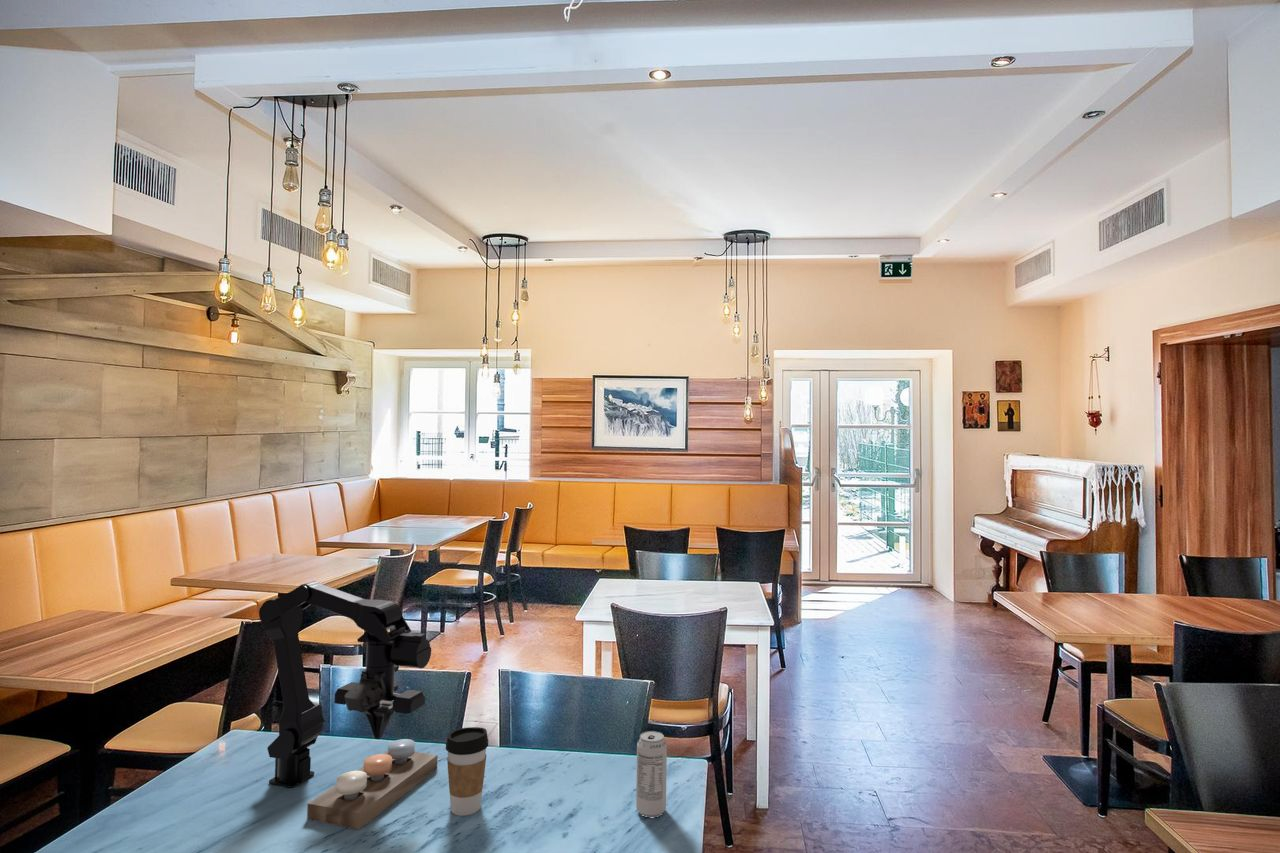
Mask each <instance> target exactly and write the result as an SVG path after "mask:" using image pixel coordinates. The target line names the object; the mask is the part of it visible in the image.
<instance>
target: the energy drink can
mask: <svg viewBox="0 0 1280 853" xmlns="http://www.w3.org/2000/svg"><path fill="white" fill-rule="evenodd" d="M667 750H668V744H667V742H666V740H665V735H664V734H663V733H662V732H660V731H654V730H647V731H644V732H642V733H640V735H639V739H638V741H637V744H636V788H635V789H636V791H635V792H636V793H635V796H636V797H635V798H636V800H635V807H636V810H637V811H638V814H639V813H640V814H641V815H644V816H647V817H657V816H660V815H661V814H662V813H663V814H664V813H665V811H666V810H667V771H668V770H667V768H668V766H667V760H668V759H667V757H668V756H667V755H668V753H667V752H668V751H667ZM640 814H639V815H640ZM663 814H662V815H663ZM641 815H640V816H641ZM660 817H661V816H660Z"/></svg>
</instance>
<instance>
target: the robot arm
mask: <svg viewBox="0 0 1280 853" xmlns="http://www.w3.org/2000/svg"><path fill="white" fill-rule="evenodd" d="M311 605H312V606H315V607H317V608H321V609H323V610H326V611H329V612H331V613H334V614H336V615H339V616H342V617H345V618H348V619H350V620H352V621H353V622H354V623H355V625H356V626H357V627H358V628H359V629H361V630H362V631H364V633H363V634H362V635H360V637H359V638H357V642H358V643H366V655H365V656H366V659H365V660H366V661H365V669H364V670H362V671H361V674H360V679H359V682H355V681H351V682H348V683H346V684H345V685H342V686H341V687H338V688H337V689H336V690H335V692H334V696H333V703H334V704H337V705H344V706H345V705H346V709H347V710H348V711H350V712H352V711H357V712H359V713H364V714H365V716H366V717H367V720H368V722H369V725H370V727H371V730H372V733H373V737H374V739H375V740H380V739H382V737H383V735H384V733H385V731H386V728H387V726H388V724H389V722H390V720H391V718H392V716H393V714H394V712H395V713H399V714H407V715H408V714H411V713H413V712H414V711H417V710H418V709H419V708H421V707H422V706H424V705H426V695H425V693H424V692H423V691H421V690H414V689H407V690H405V691H403V692H401V693H395V692H396V691H398V690H399V685H398V684H395V673H396V672H398V671H399V667H403V668H411V669H412V668H414V669H424V668H425V667H427V665H428V664H429V662H430V659H431V654H432V647H431V643H430V642H429V640H428V639H427V634H426V633H411V632H412V630H411V628H410V626H409V625H408V623H407V621H406V619H405V617H404V616H403V614H402V612H401V609H400V606H399V604H398V603H397V602H395V601H391V600H385V599H366V598H362V597H360V596H356V595H353V594H351V593H348V592H345V591H342V590H340V589H337V588H333V587H331V586H327V585H326V584H323V583H321V582H320V581H316V580H314V581H310V582H307V583H302V584H300V585H299V586H297V587H296V588H294V589H293V590H291V591H289V592H287V593H285V594H283V595H281V596H277V597H275V598H271V599H268V600H265V601H264V602H263V603H262V604H261V606H260V607H259V608H258V609H259V610H258V617H259V621H260V623H261V626H262V630H263V631H264V633H265V634H266V635H267V636H268V637H269V638H270V639H271V640H272V643H273V647H274V648H273V649H274V654H275V655H274V656H275V660H276V666H277V672H278V679H279V683H280V684H279V685H280V690H281V696H282V697H281V698H282V703H283V709H282V712H281V716H280V718H279V721H278V736H277V737H276V738H275V739H274V740H273V741H272V742H271V743H270V744H269V745H268V746H267V748H266V749H267V752H268V756H269V758H273V759H275V761H274V762H275V763H274V764H275V765H274V777H273V778H271V779H269V781H268V784H271V785H277V786H282V787H288V788H294V787H296V786H298V785H299V784H301V783H303V782H304V781H306V780H307V779H309V778H311V777H313V776H314V775H315V771H312V770H311V763H312V757H311V756H310V754H311V748H308V747H310V746H312V745H315V744H316V741H317V739H318V737H319V736H320V735H321V733H322V731H323V729H324V726H323V724H324V723H325V722H326V720H325V718H324V717H323V706H322V705H321V704H320V703H319V704H317V705H316V704H314V702H312V700H311V699H310V696H309V690H308V685H307V680H306V674H305V667H304V663H303V662H304V661H303V655H302V650H301V643H300V638H299V632H300V630H301V627H302V624H303V621H304V615H303V614H304V610H305V609H307V608H308V607H309V606H311ZM394 628H395V629H394ZM390 629H392V630H390ZM388 630H389V631H388Z"/></svg>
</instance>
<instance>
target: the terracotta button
mask: <svg viewBox="0 0 1280 853" xmlns="http://www.w3.org/2000/svg"><path fill="white" fill-rule="evenodd" d="M362 767H363V772H365V773H366V774H367V775H368V776H371V781H374V782H380V781H382V780H383V779H384V774H386V773H388V772H389V771H390V770H391V769H392V757H391V756H390V755H387V754H383V753H379V754H373V755H371V756H370V755H369V756H368V757H366V758H365V759H364V760H363V766H362Z"/></svg>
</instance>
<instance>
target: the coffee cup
mask: <svg viewBox="0 0 1280 853" xmlns="http://www.w3.org/2000/svg"><path fill="white" fill-rule="evenodd" d="M488 737H489V736H488V730H487V729H486V728H483V727H477V726H476V727H474V726H472V727H469V726H468V727H461V728H457V729H454V730H452V731H450V732H449V733H448V734H447V738H446V742H445V750H446V751H447V758H446V759H447V760H446V761H447V776H448V788H449V803H450V804H449V805H450V812H451V813H452V814H453V815H456V816H461V817H463V816H470V815H473V814H475V813H477V812H478V811H479V810H480V809H481V806H482V799H483V798H482V796H483V789H484V788H483V787H484V780H485V771H486V763H487V762H486V761H487V753H486V752H487V748H488V747H489V738H488Z"/></svg>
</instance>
